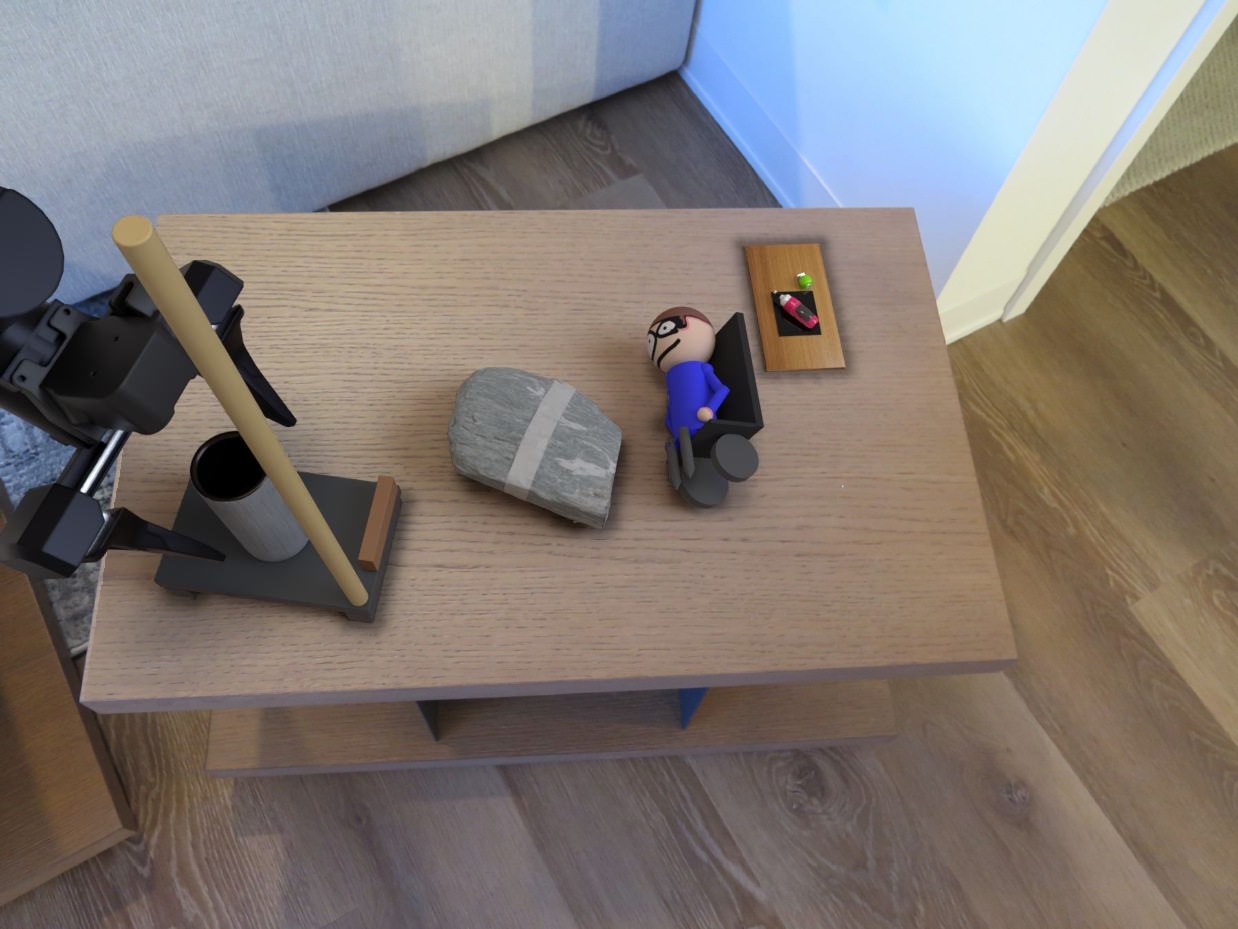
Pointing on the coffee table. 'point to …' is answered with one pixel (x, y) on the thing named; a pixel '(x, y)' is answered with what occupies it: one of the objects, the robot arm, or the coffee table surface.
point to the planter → (245, 498)
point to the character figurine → (707, 402)
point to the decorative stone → (535, 442)
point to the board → (794, 308)
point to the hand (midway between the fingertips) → (259, 489)
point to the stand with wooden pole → (323, 505)
